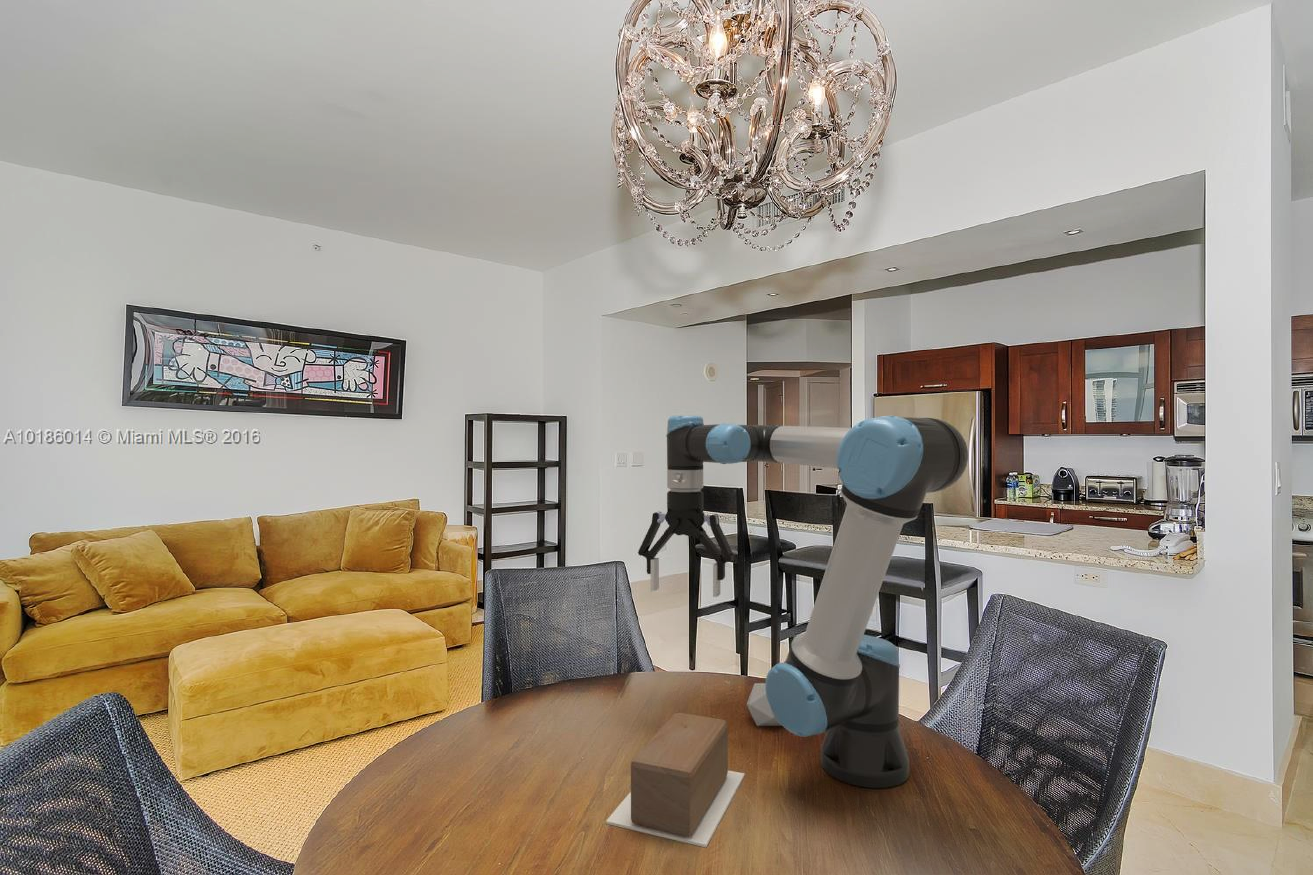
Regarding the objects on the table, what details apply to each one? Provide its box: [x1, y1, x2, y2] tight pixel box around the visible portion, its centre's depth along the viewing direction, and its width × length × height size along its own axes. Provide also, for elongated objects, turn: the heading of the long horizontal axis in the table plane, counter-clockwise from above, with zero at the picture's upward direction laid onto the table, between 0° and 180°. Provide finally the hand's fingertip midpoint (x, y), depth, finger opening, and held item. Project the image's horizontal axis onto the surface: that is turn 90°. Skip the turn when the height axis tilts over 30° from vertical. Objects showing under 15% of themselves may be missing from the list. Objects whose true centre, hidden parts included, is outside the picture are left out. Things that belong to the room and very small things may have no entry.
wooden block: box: [630, 711, 729, 836], centre depth 108 cm, size 10×10×20 cm
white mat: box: [605, 769, 745, 848], centre depth 109 cm, size 16×22×1 cm
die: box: [746, 682, 783, 727], centre depth 138 cm, size 8×9×10 cm
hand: (685, 592), depth 139 cm, fingers open, 13 cm apart
